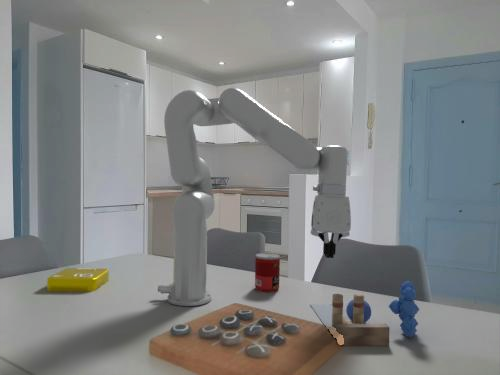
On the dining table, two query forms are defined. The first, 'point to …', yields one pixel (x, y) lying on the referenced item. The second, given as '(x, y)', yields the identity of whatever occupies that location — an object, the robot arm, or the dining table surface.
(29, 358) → the dining table surface
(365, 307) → the ball
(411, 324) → the grapes
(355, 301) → the pin right
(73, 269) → the element tile
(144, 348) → the dining table surface
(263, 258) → the canned food
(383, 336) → the back wall
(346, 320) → the pin front
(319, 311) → the lane mark
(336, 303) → the pin left
